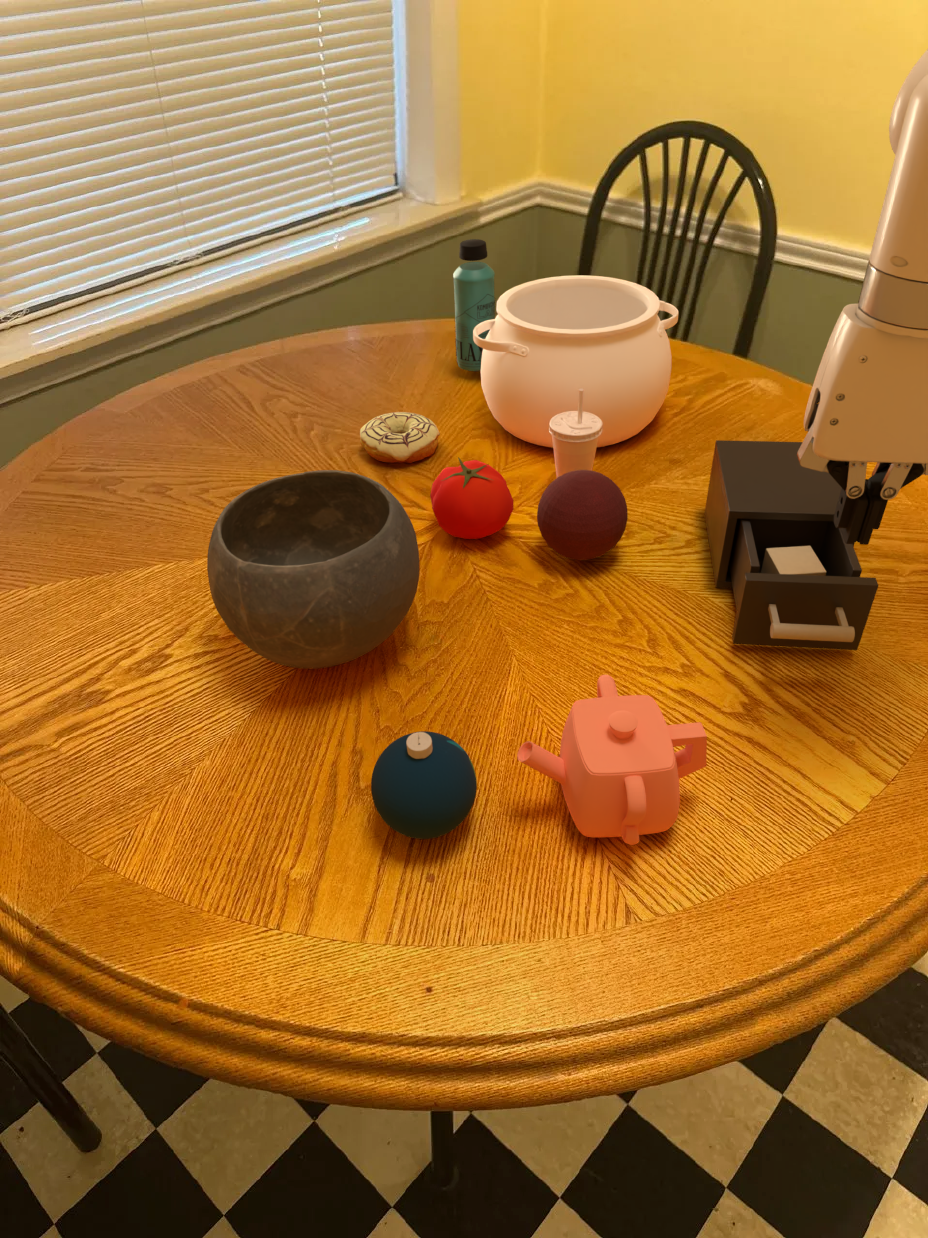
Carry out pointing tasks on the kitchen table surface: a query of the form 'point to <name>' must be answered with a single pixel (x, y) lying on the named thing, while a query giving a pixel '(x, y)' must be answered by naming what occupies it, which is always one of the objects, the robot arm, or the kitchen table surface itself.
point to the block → (792, 561)
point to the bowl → (313, 567)
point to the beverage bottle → (472, 302)
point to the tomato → (471, 500)
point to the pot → (576, 355)
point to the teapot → (620, 764)
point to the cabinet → (761, 493)
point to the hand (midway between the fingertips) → (852, 533)
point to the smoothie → (575, 439)
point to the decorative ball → (582, 515)
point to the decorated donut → (399, 437)
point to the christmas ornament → (423, 785)
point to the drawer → (798, 588)
